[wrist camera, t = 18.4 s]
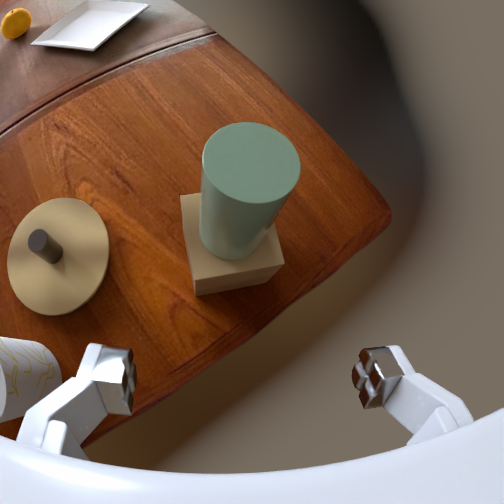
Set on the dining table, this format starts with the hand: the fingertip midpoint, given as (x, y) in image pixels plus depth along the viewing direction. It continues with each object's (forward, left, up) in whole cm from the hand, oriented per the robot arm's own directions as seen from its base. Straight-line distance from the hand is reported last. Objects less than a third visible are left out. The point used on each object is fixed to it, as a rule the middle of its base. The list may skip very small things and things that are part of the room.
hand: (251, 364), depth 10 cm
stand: (+11, -3, -23) cm, 26 cm away
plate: (+63, +16, -23) cm, 69 cm away
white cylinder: (0, +22, -23) cm, 32 cm away
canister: (+11, -3, -15) cm, 19 cm away
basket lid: (+14, +16, -23) cm, 31 cm away
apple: (+72, +36, -23) cm, 83 cm away
